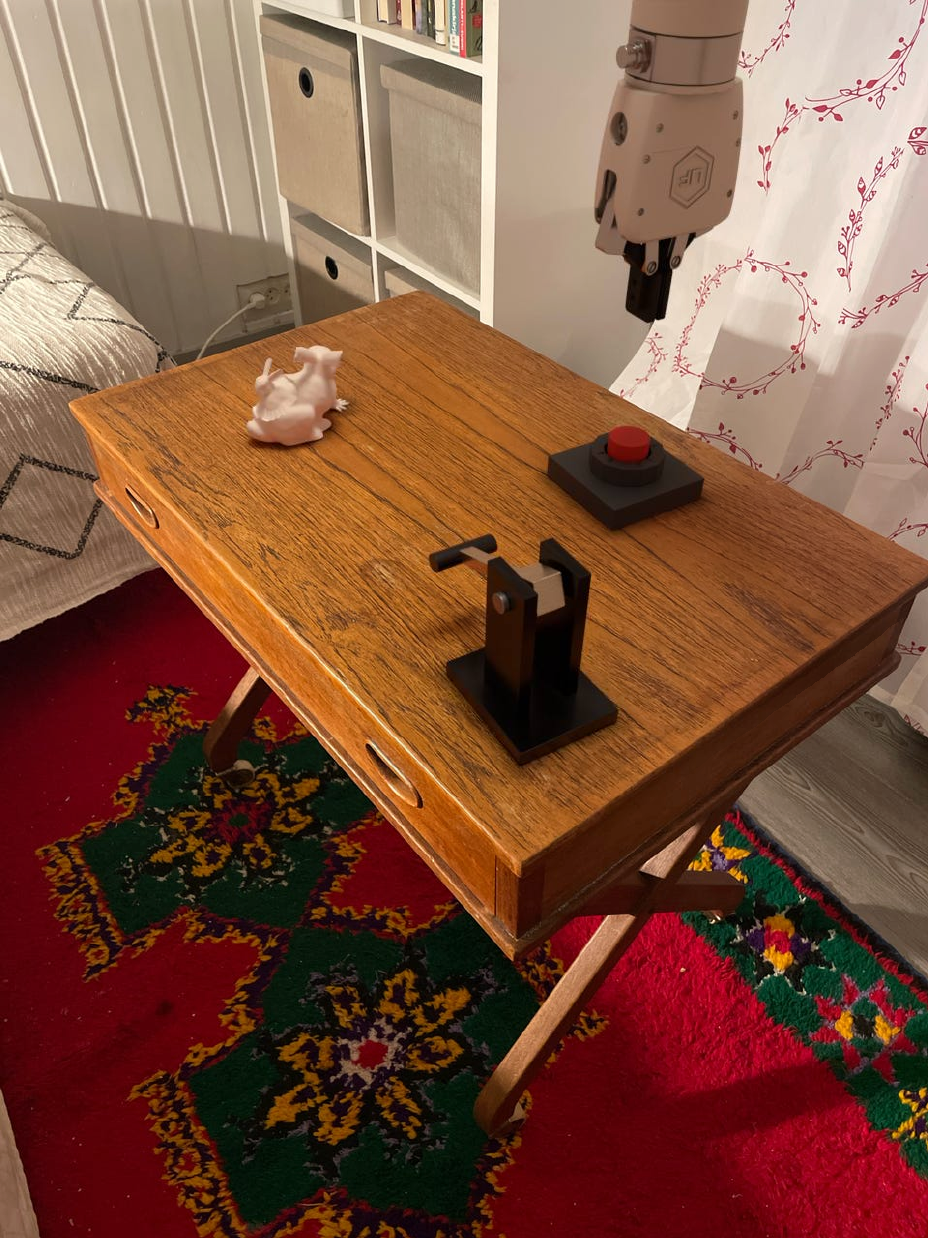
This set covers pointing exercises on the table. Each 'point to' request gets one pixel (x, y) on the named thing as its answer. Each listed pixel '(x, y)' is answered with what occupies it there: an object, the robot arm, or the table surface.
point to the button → (628, 444)
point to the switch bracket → (533, 662)
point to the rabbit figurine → (297, 398)
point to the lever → (534, 574)
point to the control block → (624, 482)
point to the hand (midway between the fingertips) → (644, 314)
